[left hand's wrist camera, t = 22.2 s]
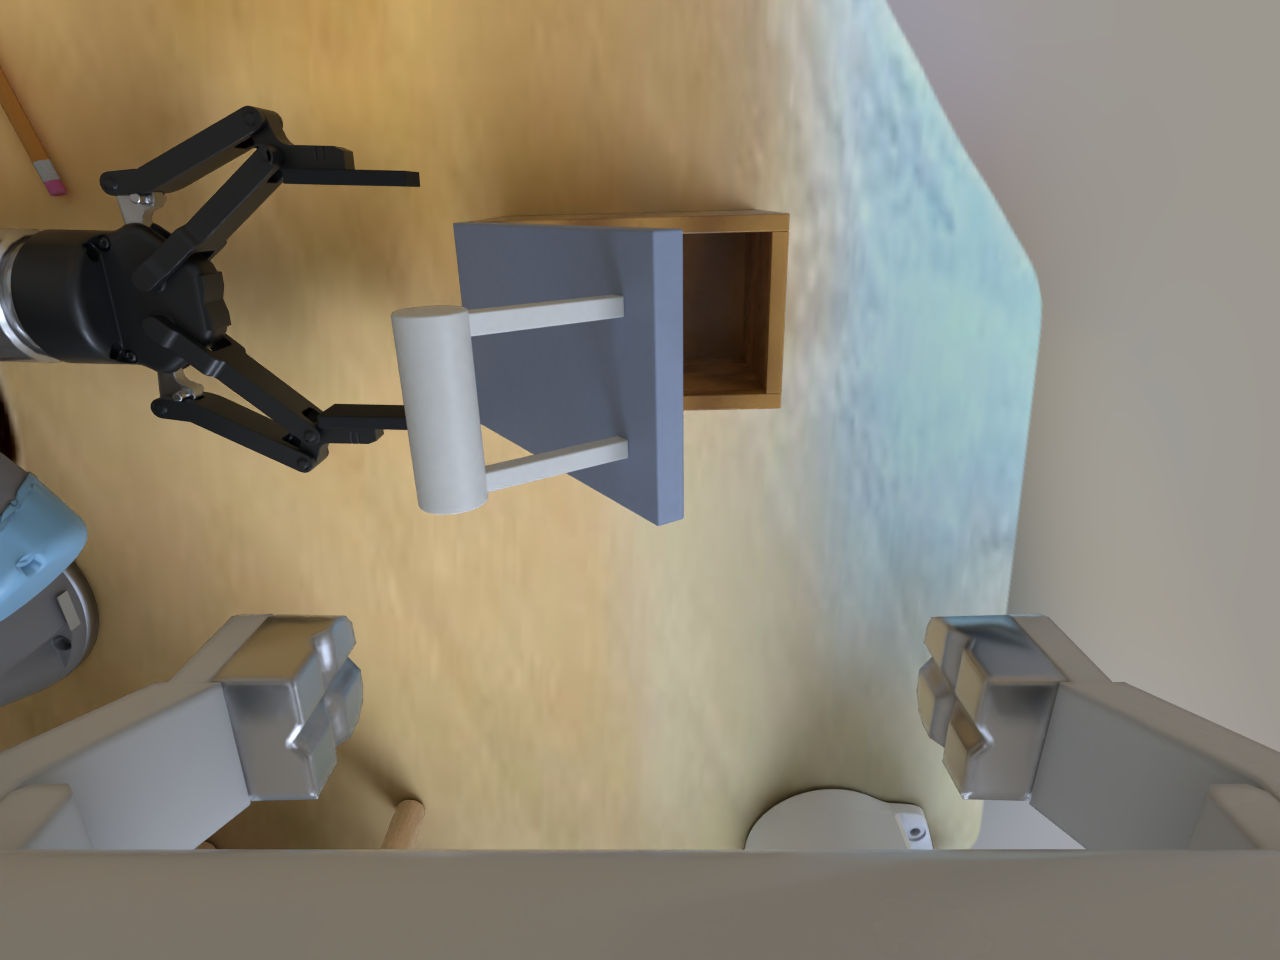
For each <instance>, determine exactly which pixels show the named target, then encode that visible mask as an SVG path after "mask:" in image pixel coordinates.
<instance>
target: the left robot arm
mask: <svg viewBox="0 0 1280 960" xmlns="http://www.w3.org/2000/svg"><path fill="white" fill-rule="evenodd" d="M355 644H356V640H355V635H354V630H353V625H352V622H351V621H350V620H349V619H348V618H347V617H346V616H330V615H279V614H277V615H273V614H242V615H237V616H232V617H231V618H230V619H229V620H228V621H227V622H226V623H225V624H224V625H223V626H222V627H221V628H220V629H219V630H218V631H217V632H216V633H215V634H214V635H213V636H212V637H211V638H210V639H209V640H208V641H207V642H206V643H205V645H204V646H203V647H202V648H201V649H200V650H199V651H198V652H197V653H196V654H195V655H194V656H193V657H192V658H191V659H190V660H189V661H188V662H187V663H186V664H185V665H184V666H183V667H182V668H181V669H180V670H179V671H178V672H177V673H176V674H175V675H174V676H173V677H172V678H171V679H170V680H169V681H168V682H155V683H153V684H151V685H148V686H146V687H144V688H142V689H139V690H137V691H135V692H133V693H131V694H128V695H126V696H124V697H122V698H119V699H117V700H115V701H113V702H111V703H108V704H106V705H104V706H102V707H99V708H97V709H95V710H93V711H91V712H88V713H86V714H84V715H82V716H79V717H77V718H75V719H73V720H71V721H68V722H66V723H64V724H62V725H60V726H57V727H55V728H53V729H51V730H48V731H46V732H44V733H42V734H40V735H37V736H35V737H33V738H31V739H28V740H26V741H24V742H22V743H20V744H17V745H15V746H13V747H11V748H8V749H6V750H4V751H2V752H0V960H1280V752H1278V751H1276V750H1273V749H1271V748H1269V747H1267V746H1264V745H1262V744H1260V743H1258V742H1256V741H1253V740H1251V739H1249V738H1247V737H1245V736H1242V735H1240V734H1238V733H1236V732H1233V731H1231V730H1229V729H1227V728H1225V727H1222V726H1220V725H1218V724H1216V723H1214V722H1211V721H1209V720H1207V719H1205V718H1202V717H1200V716H1198V715H1196V714H1194V713H1191V712H1189V711H1187V710H1185V709H1183V708H1180V707H1178V706H1176V705H1174V704H1172V703H1169V702H1167V701H1165V700H1163V699H1160V698H1158V697H1156V696H1154V695H1152V694H1149V693H1147V692H1145V691H1143V690H1141V689H1138V688H1136V687H1134V686H1132V685H1129V684H1127V683H1125V682H1112V681H1111V680H1110V679H1109V678H1108V677H1107V676H1106V675H1105V674H1104V673H1103V672H1102V671H1101V670H1100V669H1099V668H1098V667H1097V666H1096V665H1095V664H1094V663H1093V662H1092V661H1091V660H1090V659H1089V658H1088V657H1087V656H1086V655H1085V654H1084V653H1083V652H1082V650H1081V649H1080V648H1079V647H1078V646H1077V645H1076V644H1075V643H1074V642H1073V641H1072V640H1071V639H1070V638H1069V637H1068V636H1067V635H1066V634H1065V633H1064V632H1063V631H1062V630H1061V629H1060V628H1059V627H1058V626H1057V625H1056V624H1055V623H1054V622H1053V621H1052V620H1051V619H1050V618H1049V617H1047V616H1044V615H1042V614H1018V615H987V616H947V617H931V619H930V621H929V623H928V626H927V628H926V634H925V639H924V644H925V646H926V647H927V649H928V650H929V652H930V654H931V655H932V658H931V659H930V660H929V661H928V662H927V663H926V664H925V665H924V666H923V667H922V668H921V669H920V670H919V677H918V685H917V699H918V710H919V713H920V717H921V720H922V723H923V726H924V728H925V730H926V732H927V734H928V736H929V737H930V738H931V739H932V740H934V741H935V742H937V743H938V744H940V745H941V746H943V747H944V748H945V749H944V755H943V760H942V762H943V764H944V766H945V767H946V769H947V771H948V773H949V775H950V777H951V778H952V780H953V782H954V784H955V786H956V788H957V789H958V791H959V793H960V795H961V797H962V799H978V800H1015V801H1030V802H1029V804H1030V805H1031V806H1032V807H1034V808H1035V809H1036V810H1038V811H1039V812H1040V813H1041V814H1043V815H1044V816H1045V817H1046V818H1048V819H1049V820H1050V821H1052V822H1053V823H1054V824H1055V825H1056V826H1058V827H1059V828H1060V829H1062V830H1063V831H1064V832H1065V833H1067V834H1068V835H1069V836H1070V837H1072V838H1073V839H1074V840H1075V841H1077V842H1078V843H1079V844H1080V845H1082V846H1083V847H1084V848H1086V849H997V850H996V849H989V850H988V849H982V850H981V849H974V850H973V849H933V846H932V842H931V837H930V833H929V829H928V825H927V821H926V818H925V815H924V812H923V810H922V809H921V808H920V807H918V806H916V805H911V804H901V803H887V802H884V801H881V800H878V799H876V798H873V797H871V796H869V795H866V794H863V793H860V792H856V791H851V790H843V789H823V790H815V791H810V792H805V793H802V794H799V795H796V796H793V797H790V798H788V799H786V800H784V801H782V802H780V803H779V804H777V805H775V806H774V807H772V808H771V809H770V810H768V811H767V812H766V813H765V814H764V815H763V816H762V817H761V818H760V819H759V820H758V821H757V822H756V824H755V825H754V826H753V828H752V830H751V831H750V833H749V836H748V838H747V841H746V845H745V850H482V849H195V848H196V847H197V846H199V845H200V844H201V843H202V842H204V841H205V840H206V839H207V838H209V837H210V836H211V835H212V834H214V833H215V832H216V831H217V830H219V829H220V828H221V827H223V826H224V825H225V824H226V823H228V822H229V821H230V820H231V819H233V818H234V817H235V816H236V815H238V814H239V813H240V812H242V811H243V810H244V809H245V808H247V807H248V806H249V805H250V804H251V803H250V801H265V800H300V799H318V797H319V795H320V793H321V791H322V790H323V788H324V786H325V784H326V782H327V780H328V778H329V777H330V775H331V773H332V771H333V769H334V767H335V766H336V764H337V762H338V760H337V755H336V749H335V748H336V747H337V746H339V745H340V744H342V743H343V742H345V741H346V740H348V739H349V738H350V737H351V736H352V734H353V732H354V730H355V728H356V726H357V724H358V721H359V716H360V712H361V707H362V703H363V682H362V676H361V670H360V669H359V668H358V667H357V666H356V665H355V664H354V663H353V662H352V661H351V660H350V659H349V658H348V655H349V654H350V652H351V650H352V649H353V647H354V646H355Z"/></svg>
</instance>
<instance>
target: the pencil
mask: <svg viewBox="0 0 1280 960" xmlns="http://www.w3.org/2000/svg"><path fill="white" fill-rule="evenodd" d="M0 103H1V105H2V107H3V108H4V110H5V112H6V114H7V116H8V118H9V120H10V121H11V123H12V125H13V127H14V129H15V131H16V133H17V134H18V136H19V138H20V140H21V142H22V144H23V145H24V147H25V149H26V151H27V153H28V155H29V157H30V158H31V160H32V162H33V164H34V166H35V168H36V170H37V171H38V173H39V175H40V178H41V179H42V181H43V183H44V184H45V186H46V188H47V190H48V191H49V193H50V195H51V196H61V195H64V194H66V192H67V191H66V189H65V187H64V185H63V183H62V181H61V179H60V177H59V175H58V173H57V172H56V170H55V168H54V166H53V164H52V162H51V161H50V159H49V157H48V155H47V153H46V151H45V149H44V148H43V146H42V144H41V142H40V140H39V138H38V136H37V134H36V133H35V131H34V129H33V127H32V125H31V123H30V121H29V119H28V118H27V116H26V114H25V112H24V110H23V108H22V106H21V104H20V103H19V101H18V99H17V97H16V95H15V93H14V91H13V89H12V88H11V86H10V84H9V82H8V80H7V78H6V76H5V74H4V72H3V71H2V69H1V67H0Z"/></svg>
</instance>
